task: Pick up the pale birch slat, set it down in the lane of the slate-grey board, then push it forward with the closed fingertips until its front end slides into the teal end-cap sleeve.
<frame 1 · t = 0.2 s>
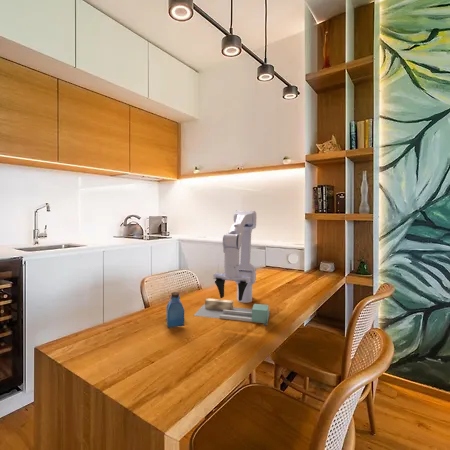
hand: (231, 298, 113), 10 cm above the table, tool pointing down, fingers open, 7 cm apart
perfume bottle: (175, 324, 113), on the table
board: (232, 315, 122), on the table
slat: (219, 308, 127), point 1 cm above the table, touching board
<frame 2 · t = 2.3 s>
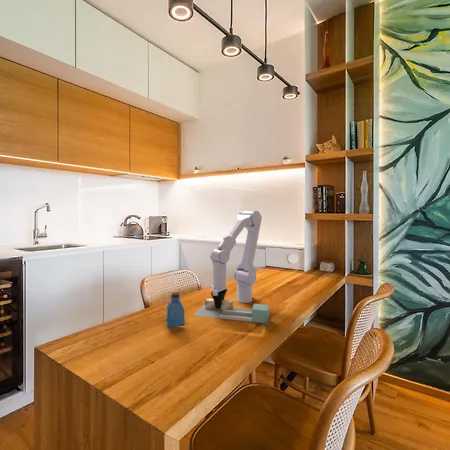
hand: (219, 306, 127), 2 cm above the table, tool pointing down, fingers closed on slat, 3 cm apart
slat: (219, 308, 127), point 1 cm above the table, touching board, gripper
everything else where it was.
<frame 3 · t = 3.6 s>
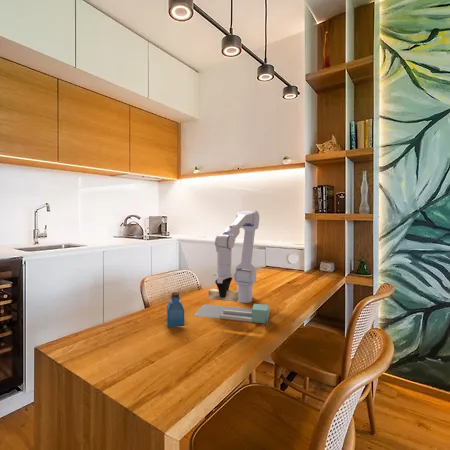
hand: (223, 296, 119), 9 cm above the table, tool pointing down, fingers closed on slat, 3 cm apart
slat: (223, 299, 119), point 8 cm above the table, touching gripper
everything else where it was.
when the fingers open (3 cm above the table, at t = 5.1 s): slat stays where it is, resting on board.
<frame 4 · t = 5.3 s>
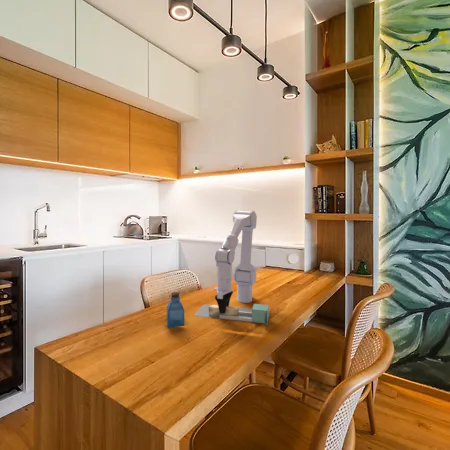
hand: (223, 310, 119), 3 cm above the table, tool pointing down, fingers open, 5 cm apart
slat: (223, 315, 119), point 1 cm above the table, touching board
everything else where it was.
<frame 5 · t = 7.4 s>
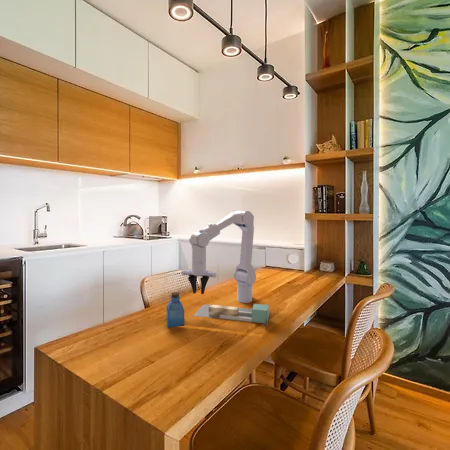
hand: (198, 293, 121), 9 cm above the table, tool pointing down, fingers open, 3 cm apart
nothing on the table moved.
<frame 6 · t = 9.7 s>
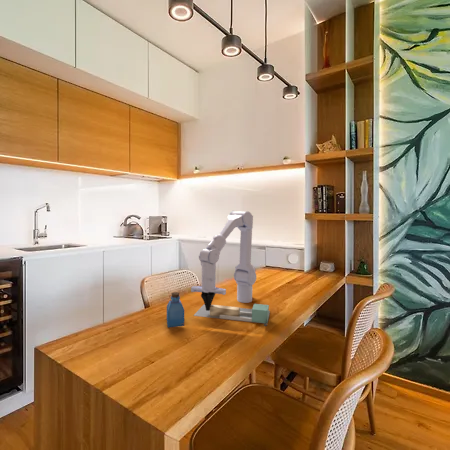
hand: (208, 309, 120), 3 cm above the table, tool pointing down, fingers closed
slat: (224, 315, 119), point 1 cm above the table, touching gripper
everything else where it was.
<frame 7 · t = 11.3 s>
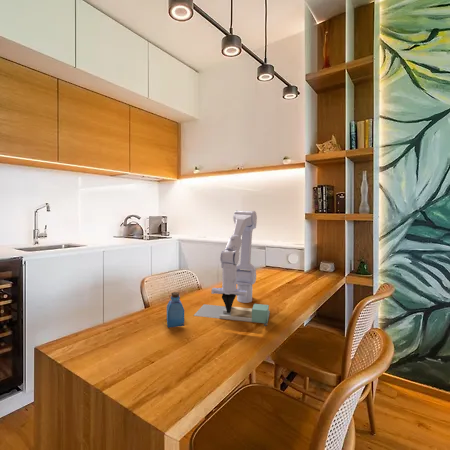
hand: (228, 311, 118), 3 cm above the table, tool pointing down, fingers closed
slat: (246, 317, 117), point 1 cm above the table, touching board, gripper
everything else where it was.
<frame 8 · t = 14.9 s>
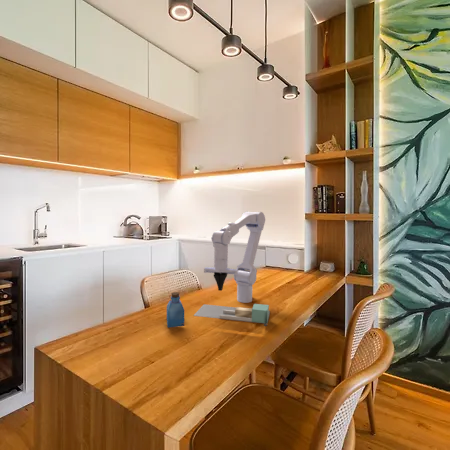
hand: (220, 289, 124), 10 cm above the table, tool pointing down, fingers closed
slat: (250, 318, 116), point 1 cm above the table, touching board
everything else where it was.
at the end: slat 0.1 cm from the target spot, point 1.0 cm above the table; slat tilted 0°; the gripper is holding nothing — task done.
